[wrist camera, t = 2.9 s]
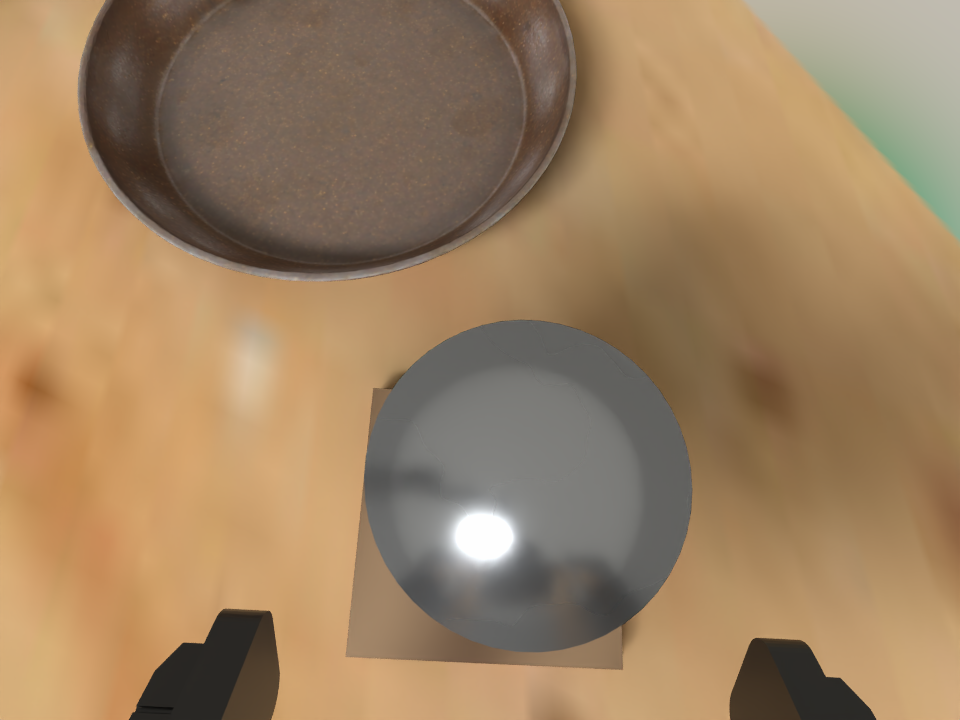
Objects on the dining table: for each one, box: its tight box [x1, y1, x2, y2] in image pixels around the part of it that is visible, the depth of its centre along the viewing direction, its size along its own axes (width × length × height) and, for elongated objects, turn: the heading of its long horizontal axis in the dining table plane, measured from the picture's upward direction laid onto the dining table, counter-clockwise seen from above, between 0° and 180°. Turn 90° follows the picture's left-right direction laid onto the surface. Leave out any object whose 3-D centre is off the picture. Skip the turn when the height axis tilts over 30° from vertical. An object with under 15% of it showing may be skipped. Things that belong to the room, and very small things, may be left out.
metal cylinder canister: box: [364, 320, 692, 652], centre depth 14 cm, size 6×6×11 cm
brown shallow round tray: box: [78, 0, 577, 281], centre depth 24 cm, size 18×18×3 cm
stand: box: [346, 388, 623, 670], centre depth 20 cm, size 8×8×1 cm
